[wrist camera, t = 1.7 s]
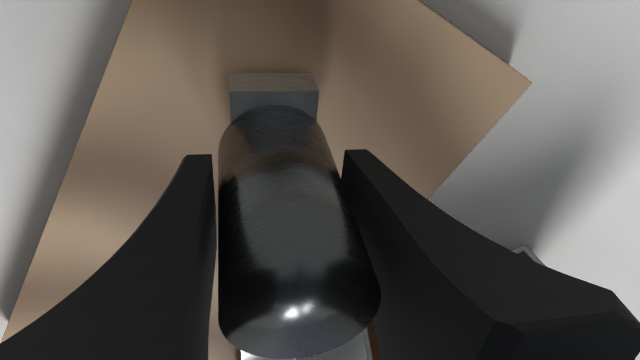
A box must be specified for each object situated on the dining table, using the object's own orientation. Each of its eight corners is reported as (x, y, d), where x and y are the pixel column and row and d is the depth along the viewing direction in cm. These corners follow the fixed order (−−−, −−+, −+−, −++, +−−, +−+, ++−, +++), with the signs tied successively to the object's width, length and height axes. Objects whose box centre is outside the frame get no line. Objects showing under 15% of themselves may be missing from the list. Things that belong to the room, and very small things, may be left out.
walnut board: (253, 364, 25) (255, 390, 24) (9, 323, 19) (-4, 354, 18) (509, 65, 16) (532, 83, 15) (195, -159, 11) (193, -158, 10)
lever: (297, 374, 23) (321, 535, 18) (234, 382, 22) (239, 552, 17) (325, 72, 13) (398, 231, 8) (214, 72, 12) (211, 244, 7)
